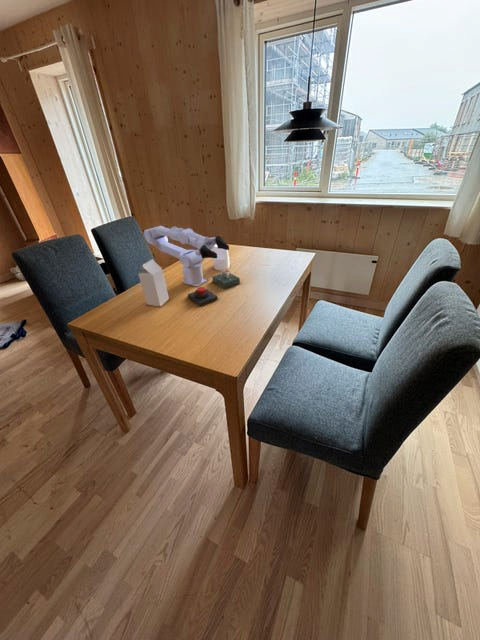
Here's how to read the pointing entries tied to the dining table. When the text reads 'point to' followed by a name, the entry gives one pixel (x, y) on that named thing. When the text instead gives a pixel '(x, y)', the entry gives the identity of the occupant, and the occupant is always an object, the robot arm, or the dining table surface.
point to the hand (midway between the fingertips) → (222, 251)
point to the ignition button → (201, 290)
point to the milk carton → (153, 284)
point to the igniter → (202, 297)
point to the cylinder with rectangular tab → (221, 258)
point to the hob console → (226, 280)
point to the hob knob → (225, 273)
